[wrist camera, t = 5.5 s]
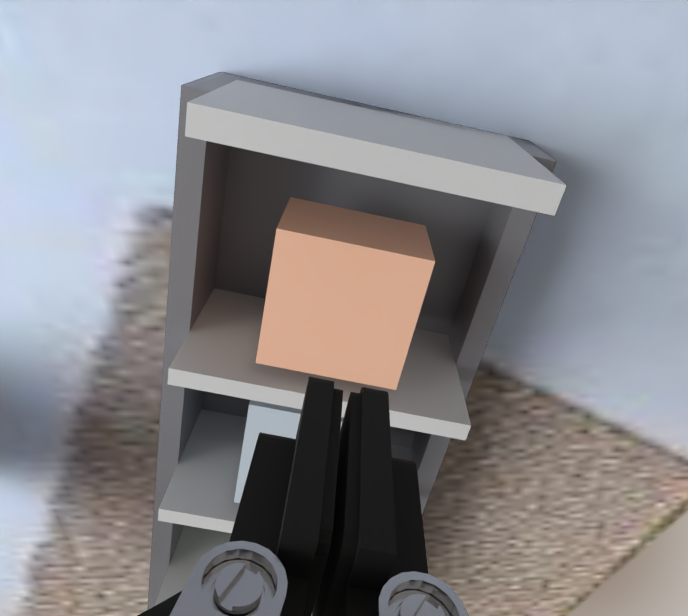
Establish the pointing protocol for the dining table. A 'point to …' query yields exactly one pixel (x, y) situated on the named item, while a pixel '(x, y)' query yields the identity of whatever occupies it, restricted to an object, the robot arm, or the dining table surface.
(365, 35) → the dining table surface
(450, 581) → the dining table surface
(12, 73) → the dining table surface
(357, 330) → the light orange square block
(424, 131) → the slotted cube rack
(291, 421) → the pale blue block
